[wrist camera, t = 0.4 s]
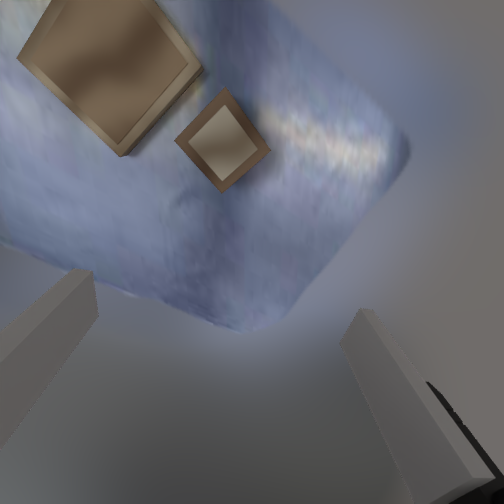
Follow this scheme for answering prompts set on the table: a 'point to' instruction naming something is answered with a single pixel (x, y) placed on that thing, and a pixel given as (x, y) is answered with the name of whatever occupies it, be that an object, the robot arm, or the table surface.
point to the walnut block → (223, 141)
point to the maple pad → (111, 65)
